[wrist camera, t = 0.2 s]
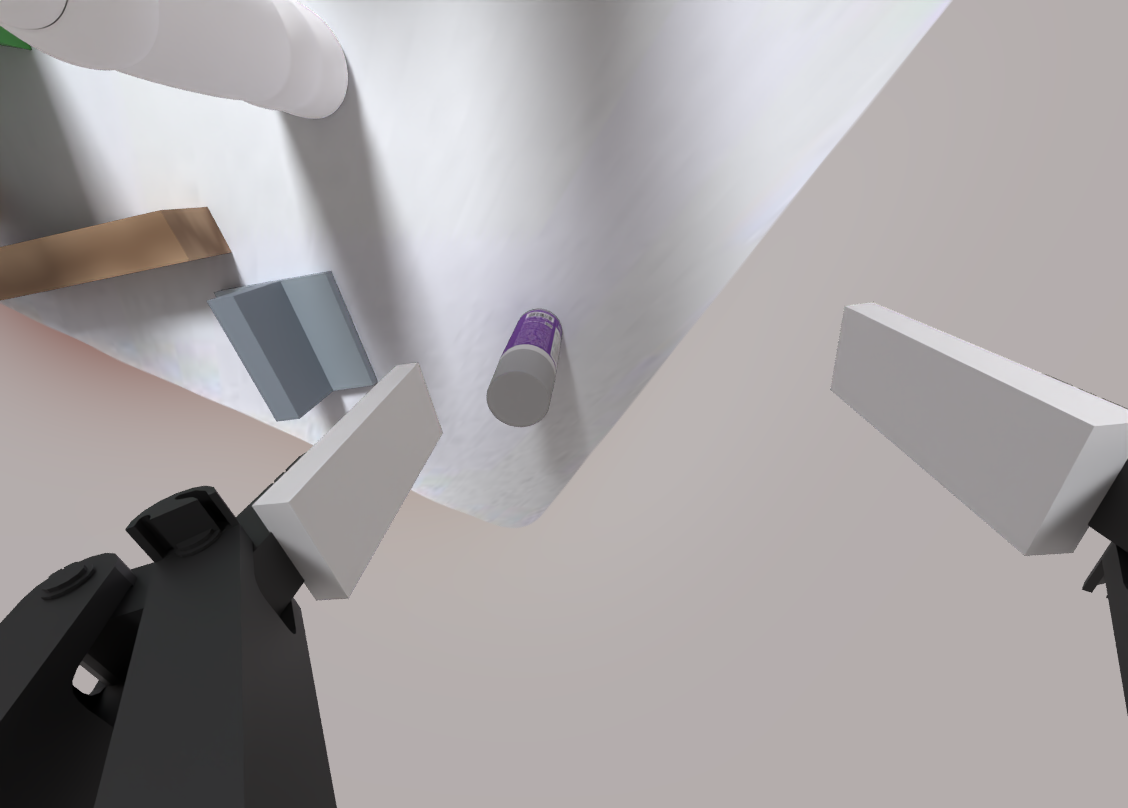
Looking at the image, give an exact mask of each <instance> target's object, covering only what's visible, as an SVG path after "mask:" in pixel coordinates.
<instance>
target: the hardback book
mask: <svg viewBox="0 0 1128 808" xmlns="http://www.w3.org/2000/svg"><path fill="white" fill-rule="evenodd" d="M0 45H3V46H9V47H15V48H22V49H28V50H32V49H31V47H30V45H29V44H27V43H26V42H24V41H22V40H21V39H19V38H18V37H16V36H15V35H13V34H12V33H10V32H9V31H7V30H6V29H4V28H3V27H1V26H0Z"/></svg>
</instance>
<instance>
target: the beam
mask: <svg viewBox="0 0 1128 808" xmlns="http://www.w3.org/2000/svg"><path fill="white" fill-rule="evenodd" d="M226 253H231V250H230V248H229V246H228V244H227V242H226V241H225V239H224V237H223V235H222V233H221V231H220V229H219V228H218V226H217V224H216V222H215V220H214V218H213V216H212V215H211V213H210V211H209V209H208V207H201V208H186V209H172V210H160V211H155V212H151V213H146V214H142V215H138V216H133V217H129V218H125V219H120V220H116V221H112V222H107V223H103V224H99V225H94V226H90V227H86V228H81V229H77V230H73V231H68V232H64V233H59V234H55V235H51V236H46V237H42V238H38V239H33V240H29V241H25V242H20V243H16V244H12V245H7V246H3V247H0V300H5V299H10V298H15V297H20V296H25V295H29V294H34V293H39V292H44V291H49V290H54V289H58V288H63V287H68V286H73V285H78V284H82V283H87V282H92V281H97V280H102V279H106V278H111V277H116V276H121V275H125V274H130V273H135V272H140V271H145V270H149V269H154V268H159V267H164V266H169V265H173V264H178V263H183V262H188V261H192V260H197V259H202V258H207V257H212V256H216V255H221V254H226Z"/></svg>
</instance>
